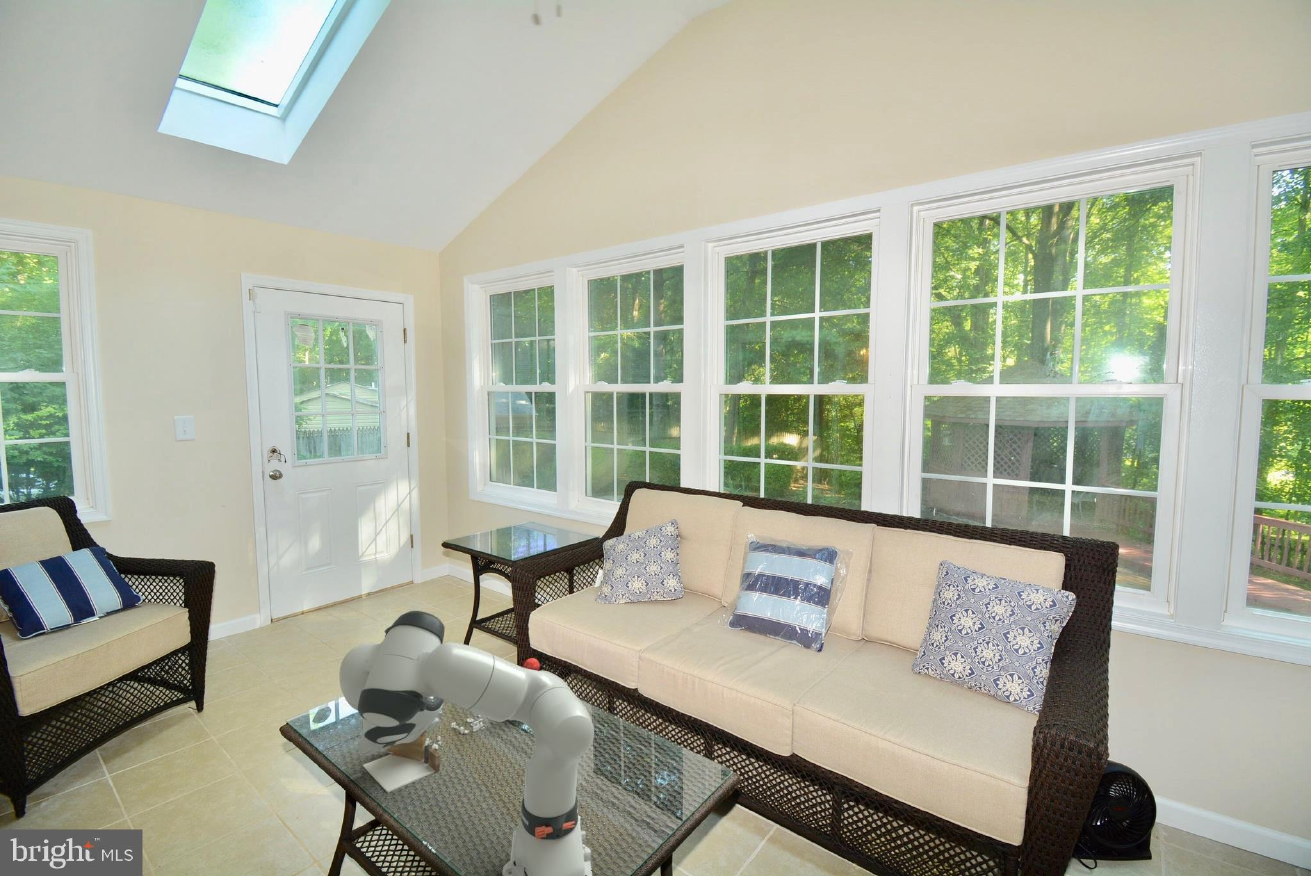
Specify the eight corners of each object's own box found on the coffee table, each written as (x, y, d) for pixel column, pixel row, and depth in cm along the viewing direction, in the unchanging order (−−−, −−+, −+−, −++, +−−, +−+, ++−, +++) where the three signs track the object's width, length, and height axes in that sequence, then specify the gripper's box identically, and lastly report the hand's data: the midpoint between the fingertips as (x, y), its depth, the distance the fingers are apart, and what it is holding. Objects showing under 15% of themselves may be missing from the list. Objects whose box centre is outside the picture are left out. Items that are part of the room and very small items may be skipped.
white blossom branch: (405, 747, 166) (405, 742, 166) (478, 715, 186) (478, 710, 186) (419, 757, 162) (420, 752, 162) (492, 723, 182) (493, 718, 182)
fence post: (441, 770, 158) (441, 753, 157) (434, 773, 156) (434, 756, 156) (429, 759, 162) (430, 743, 162) (422, 762, 160) (423, 746, 160)
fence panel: (421, 760, 160) (422, 733, 160) (385, 751, 163) (386, 724, 163) (425, 757, 161) (426, 730, 161) (389, 748, 165) (390, 722, 164)
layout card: (440, 769, 158) (440, 767, 158) (387, 792, 147) (387, 790, 147) (413, 746, 168) (414, 744, 168) (363, 766, 157) (363, 764, 157)
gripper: (441, 698, 163) (423, 719, 170) (365, 725, 148) (348, 746, 155) (449, 720, 161) (430, 741, 167) (372, 749, 145) (355, 770, 152)
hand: (390, 744), depth 161 cm, fingers closed
